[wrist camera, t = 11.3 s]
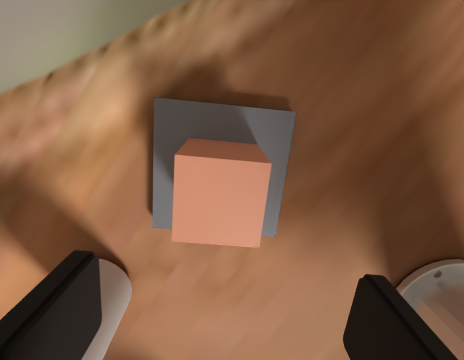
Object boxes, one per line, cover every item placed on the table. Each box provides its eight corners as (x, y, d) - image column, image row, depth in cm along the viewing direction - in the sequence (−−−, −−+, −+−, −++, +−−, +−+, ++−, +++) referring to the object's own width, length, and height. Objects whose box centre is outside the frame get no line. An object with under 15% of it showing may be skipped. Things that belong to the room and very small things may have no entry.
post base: (292, 111, 24) (316, 115, 17) (272, 229, 27) (287, 268, 21) (158, 97, 23) (133, 97, 17) (156, 220, 26) (135, 258, 20)
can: (135, 256, 28) (73, 368, 16) (134, 312, 30) (78, 445, 18) (62, 249, 27) (-55, 359, 16) (66, 307, 29) (-35, 440, 18)
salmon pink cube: (257, 144, 23) (271, 163, 16) (249, 207, 25) (259, 247, 18) (189, 138, 23) (174, 154, 16) (186, 202, 24) (171, 241, 18)
